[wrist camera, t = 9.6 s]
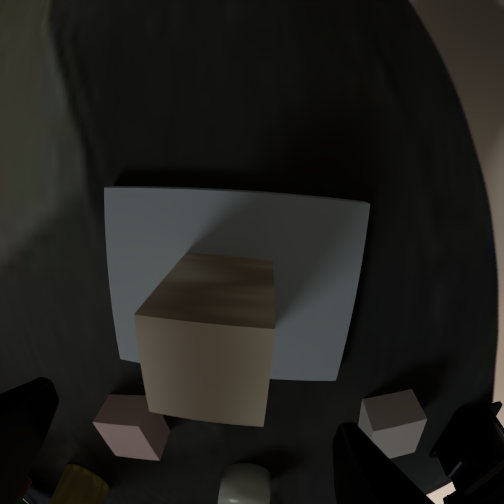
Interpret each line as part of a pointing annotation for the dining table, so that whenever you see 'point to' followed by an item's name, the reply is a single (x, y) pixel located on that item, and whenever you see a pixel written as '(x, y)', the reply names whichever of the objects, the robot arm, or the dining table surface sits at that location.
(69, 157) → the dining table surface
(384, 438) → the off-white block
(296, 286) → the blue board
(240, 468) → the sage cylinder
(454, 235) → the dining table surface
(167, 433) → the pink block
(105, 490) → the vase
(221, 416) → the birch block
